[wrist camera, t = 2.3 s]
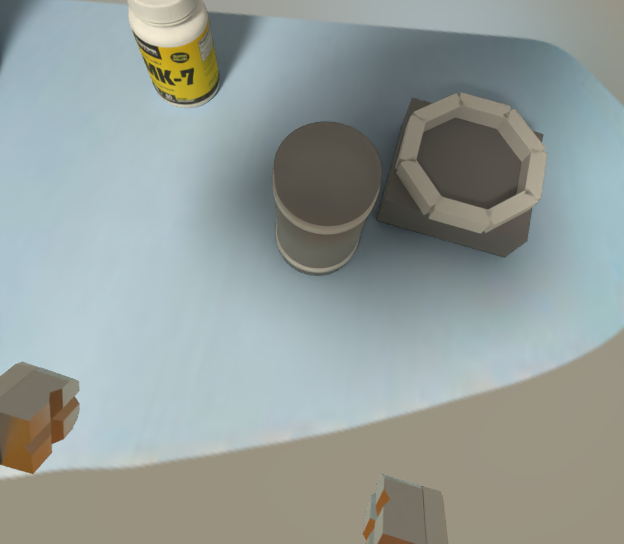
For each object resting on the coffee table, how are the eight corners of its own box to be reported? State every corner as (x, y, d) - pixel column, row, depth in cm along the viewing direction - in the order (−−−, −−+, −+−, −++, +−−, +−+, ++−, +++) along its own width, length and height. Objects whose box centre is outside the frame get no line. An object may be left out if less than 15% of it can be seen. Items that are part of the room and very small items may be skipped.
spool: (265, 263, 29) (256, 200, 21) (289, 192, 31) (290, 107, 22) (344, 287, 29) (369, 233, 21) (365, 214, 31) (395, 136, 22)
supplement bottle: (146, 102, 33) (100, 0, 25) (167, 51, 34) (130, -60, 26) (210, 117, 33) (185, 19, 25) (228, 65, 34) (210, -42, 26)
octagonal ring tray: (374, 225, 31) (387, 196, 27) (402, 120, 33) (418, 80, 29) (503, 262, 30) (536, 239, 26) (521, 154, 33) (553, 117, 29)
